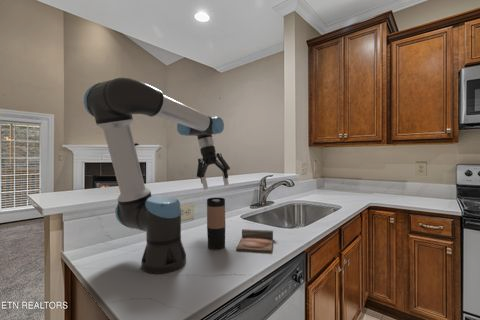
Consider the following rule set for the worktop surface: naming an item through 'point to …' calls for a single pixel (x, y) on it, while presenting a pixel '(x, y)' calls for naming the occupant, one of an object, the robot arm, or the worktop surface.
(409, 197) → the worktop surface
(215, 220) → the travel mug
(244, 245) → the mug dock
